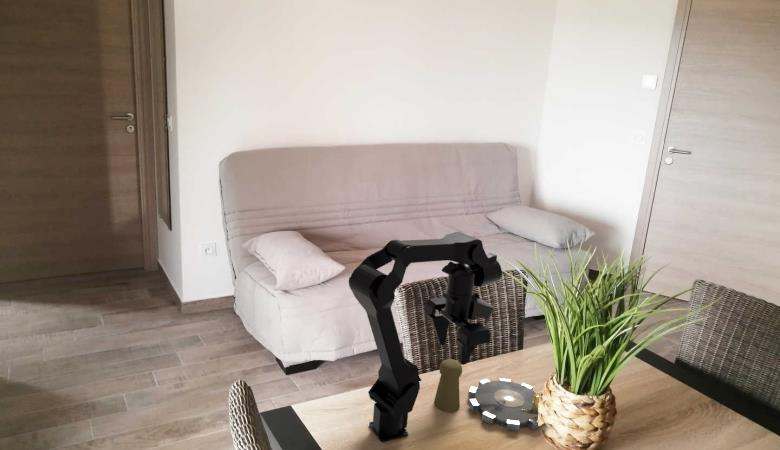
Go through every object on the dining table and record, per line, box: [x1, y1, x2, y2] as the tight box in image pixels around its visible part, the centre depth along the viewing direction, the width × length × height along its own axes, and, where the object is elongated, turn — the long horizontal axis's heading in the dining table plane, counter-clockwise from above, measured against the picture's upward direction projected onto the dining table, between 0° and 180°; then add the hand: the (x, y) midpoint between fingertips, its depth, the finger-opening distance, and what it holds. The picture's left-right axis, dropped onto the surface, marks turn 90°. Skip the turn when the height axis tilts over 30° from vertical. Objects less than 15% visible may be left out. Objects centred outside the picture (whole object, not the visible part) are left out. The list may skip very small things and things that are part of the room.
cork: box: [433, 358, 463, 413], centre depth 133 cm, size 6×6×11 cm
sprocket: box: [467, 377, 541, 432], centre depth 134 cm, size 19×18×6 cm
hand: (452, 354), depth 131 cm, fingers open, 9 cm apart
